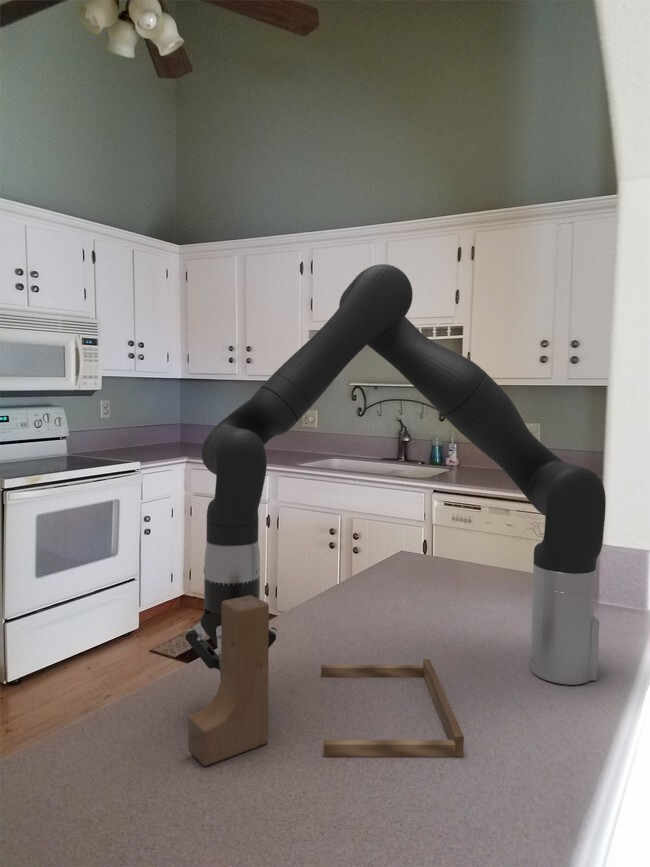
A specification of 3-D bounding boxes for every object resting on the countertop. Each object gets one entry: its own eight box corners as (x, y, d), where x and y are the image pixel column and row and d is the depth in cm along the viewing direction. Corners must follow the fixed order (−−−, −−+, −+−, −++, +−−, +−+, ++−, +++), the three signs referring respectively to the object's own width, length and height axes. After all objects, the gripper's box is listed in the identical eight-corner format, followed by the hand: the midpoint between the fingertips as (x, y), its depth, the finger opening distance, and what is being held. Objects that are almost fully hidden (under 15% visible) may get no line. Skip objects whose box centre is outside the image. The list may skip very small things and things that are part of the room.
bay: (429, 674, 102) (429, 659, 101) (463, 756, 79) (463, 736, 78) (321, 674, 101) (321, 658, 101) (323, 756, 78) (323, 736, 78)
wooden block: (203, 768, 75) (204, 617, 74) (187, 751, 79) (186, 607, 78) (269, 743, 81) (270, 602, 80) (250, 728, 84) (251, 593, 83)
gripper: (282, 566, 92) (280, 684, 93) (189, 565, 92) (188, 683, 93) (279, 581, 85) (277, 709, 86) (178, 580, 84) (177, 709, 86)
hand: (231, 696), depth 89 cm, fingers closed
